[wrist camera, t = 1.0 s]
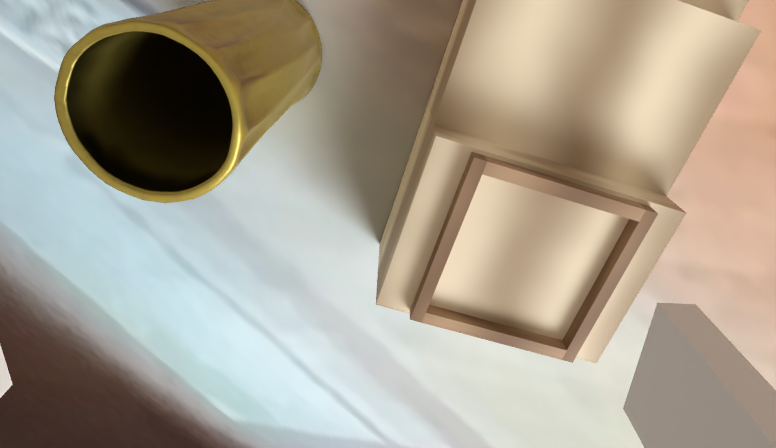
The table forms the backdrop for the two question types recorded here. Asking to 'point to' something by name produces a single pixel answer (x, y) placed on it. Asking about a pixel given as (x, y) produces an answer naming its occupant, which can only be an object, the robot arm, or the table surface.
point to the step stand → (554, 165)
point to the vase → (183, 92)
